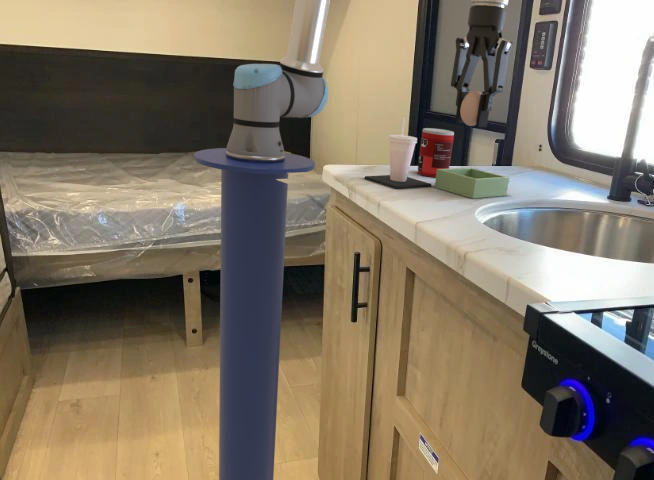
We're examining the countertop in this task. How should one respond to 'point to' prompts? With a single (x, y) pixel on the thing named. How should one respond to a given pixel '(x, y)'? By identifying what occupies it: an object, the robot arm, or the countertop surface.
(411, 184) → the drinks pad
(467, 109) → the egg
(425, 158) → the canned food
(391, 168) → the smoothie
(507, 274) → the countertop surface
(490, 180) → the bin
